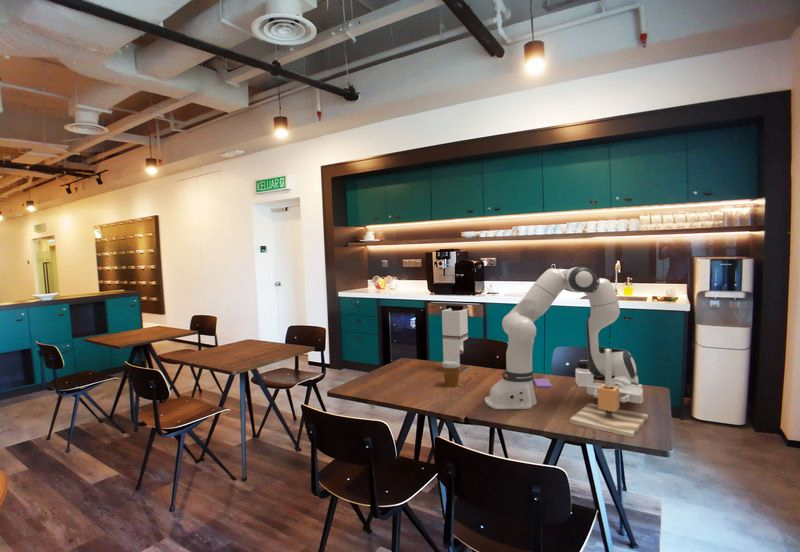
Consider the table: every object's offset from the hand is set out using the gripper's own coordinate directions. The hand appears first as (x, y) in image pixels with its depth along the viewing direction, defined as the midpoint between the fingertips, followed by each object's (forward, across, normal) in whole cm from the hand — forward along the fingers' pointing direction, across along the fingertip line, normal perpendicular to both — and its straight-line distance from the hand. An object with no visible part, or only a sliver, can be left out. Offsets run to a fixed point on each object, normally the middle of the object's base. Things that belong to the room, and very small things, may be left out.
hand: (608, 397), depth 165 cm
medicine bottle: (-40, -23, +9) cm, 47 cm away
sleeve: (0, 0, +4) cm, 4 cm away
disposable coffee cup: (-2, -76, +9) cm, 76 cm away
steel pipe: (0, 0, +8) cm, 8 cm away
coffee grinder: (-26, -89, +9) cm, 94 cm away
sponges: (-30, -40, +10) cm, 50 cm away
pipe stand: (0, 0, +9) cm, 9 cm away
